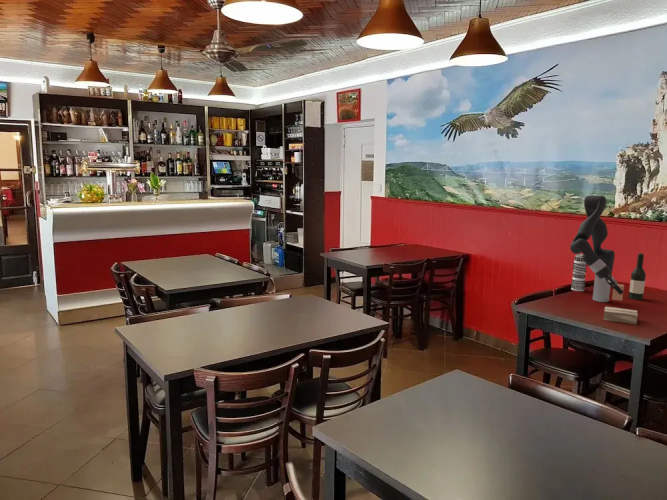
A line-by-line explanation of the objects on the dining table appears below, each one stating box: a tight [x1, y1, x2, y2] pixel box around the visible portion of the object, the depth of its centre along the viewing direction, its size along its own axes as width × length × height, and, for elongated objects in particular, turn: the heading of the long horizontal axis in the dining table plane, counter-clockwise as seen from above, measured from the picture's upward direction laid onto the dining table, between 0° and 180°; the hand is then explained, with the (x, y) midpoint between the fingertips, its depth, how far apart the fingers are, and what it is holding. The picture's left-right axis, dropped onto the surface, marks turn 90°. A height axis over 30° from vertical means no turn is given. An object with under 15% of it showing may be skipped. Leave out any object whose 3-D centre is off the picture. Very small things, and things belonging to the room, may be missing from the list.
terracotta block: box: [611, 283, 625, 301], centre depth 286 cm, size 5×5×8 cm
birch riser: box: [603, 306, 639, 325], centre depth 289 cm, size 12×16×5 cm
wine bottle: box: [628, 252, 647, 301], centre depth 335 cm, size 8×8×30 cm
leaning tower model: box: [570, 253, 588, 292], centre depth 357 cm, size 9×9×25 cm
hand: (621, 292), depth 285 cm, fingers closed on terracotta block, 5 cm apart
